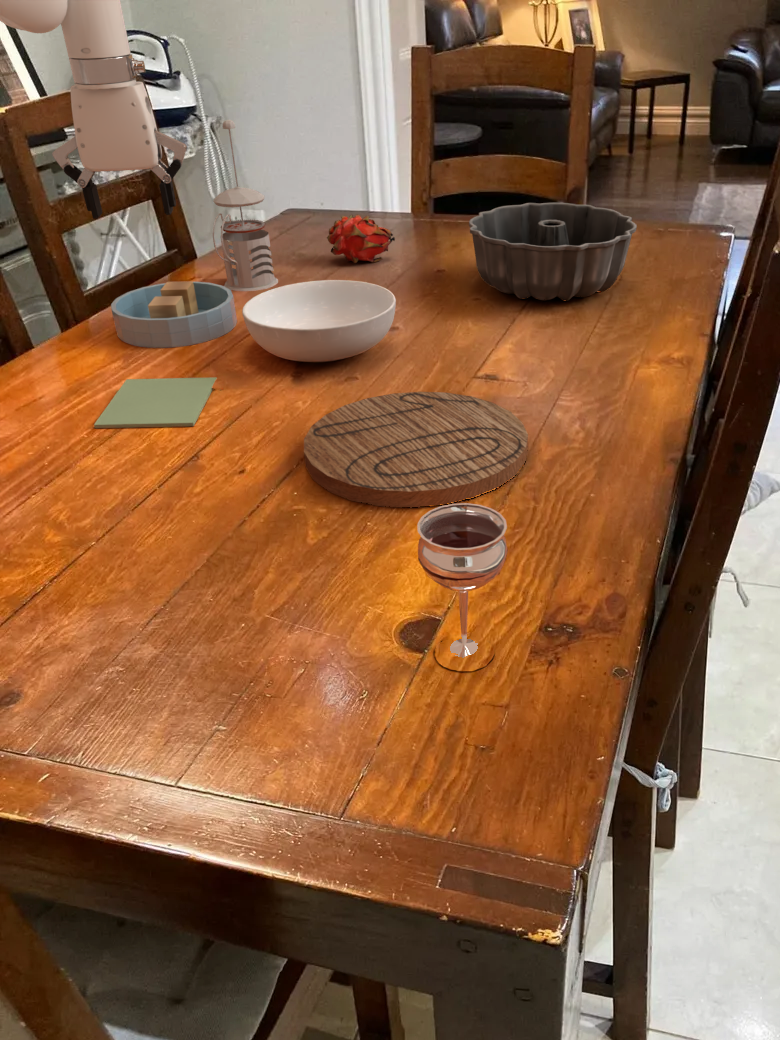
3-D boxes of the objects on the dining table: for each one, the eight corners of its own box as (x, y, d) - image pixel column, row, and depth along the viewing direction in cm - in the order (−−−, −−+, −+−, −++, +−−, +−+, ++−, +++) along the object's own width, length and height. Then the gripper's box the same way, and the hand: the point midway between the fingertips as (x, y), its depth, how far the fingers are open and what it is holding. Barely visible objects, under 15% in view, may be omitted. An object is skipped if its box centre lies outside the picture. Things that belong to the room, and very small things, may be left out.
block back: (166, 323, 141) (160, 289, 138) (173, 314, 144) (166, 281, 141) (193, 322, 141) (187, 289, 138) (199, 313, 144) (193, 281, 141)
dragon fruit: (325, 269, 168) (391, 276, 170) (324, 251, 160) (394, 259, 161) (328, 223, 168) (394, 230, 170) (327, 202, 160) (397, 210, 161)
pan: (103, 352, 133) (95, 321, 130) (136, 311, 147) (130, 282, 144) (224, 349, 133) (219, 318, 130) (246, 309, 147) (242, 280, 144)
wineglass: (486, 688, 72) (486, 558, 65) (408, 666, 75) (400, 538, 68) (518, 638, 77) (521, 513, 70) (444, 619, 79) (440, 496, 72)
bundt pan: (665, 289, 150) (673, 224, 144) (537, 324, 138) (539, 255, 132) (559, 253, 168) (562, 194, 162) (438, 281, 156) (436, 219, 150)
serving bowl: (318, 316, 143) (313, 270, 139) (427, 342, 133) (426, 293, 129) (217, 359, 130) (208, 310, 126) (331, 391, 119) (325, 339, 115)
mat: (94, 428, 112) (93, 424, 112) (127, 382, 124) (126, 379, 123) (193, 426, 112) (193, 422, 112) (217, 380, 123) (217, 377, 123)
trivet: (272, 436, 109) (270, 421, 108) (457, 390, 119) (457, 376, 118) (362, 532, 91) (361, 515, 90) (572, 468, 101) (573, 452, 100)
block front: (154, 339, 135) (147, 305, 132) (161, 330, 138) (154, 296, 135) (182, 339, 135) (175, 304, 132) (188, 329, 138) (182, 295, 135)
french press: (292, 280, 158) (273, 116, 144) (250, 301, 150) (225, 128, 135) (246, 273, 162) (222, 113, 147) (202, 293, 154) (173, 125, 139)
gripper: (176, 66, 122) (200, 204, 132) (41, 72, 121) (75, 211, 131) (168, 73, 116) (194, 217, 126) (25, 79, 115) (63, 224, 125)
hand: (133, 214), depth 128 cm, fingers open, 9 cm apart
